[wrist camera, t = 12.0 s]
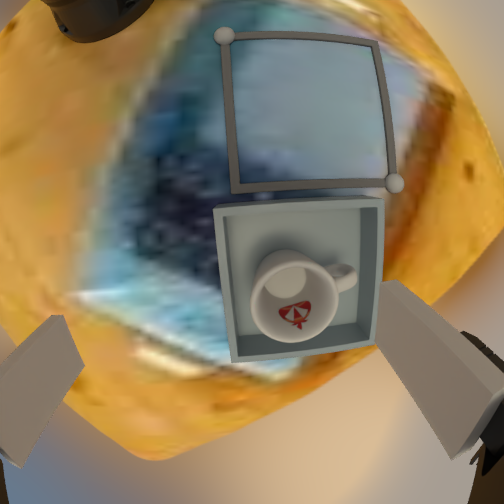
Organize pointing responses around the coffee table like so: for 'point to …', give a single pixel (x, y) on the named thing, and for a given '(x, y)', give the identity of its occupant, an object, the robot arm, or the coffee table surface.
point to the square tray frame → (391, 182)
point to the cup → (297, 295)
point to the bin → (313, 246)
